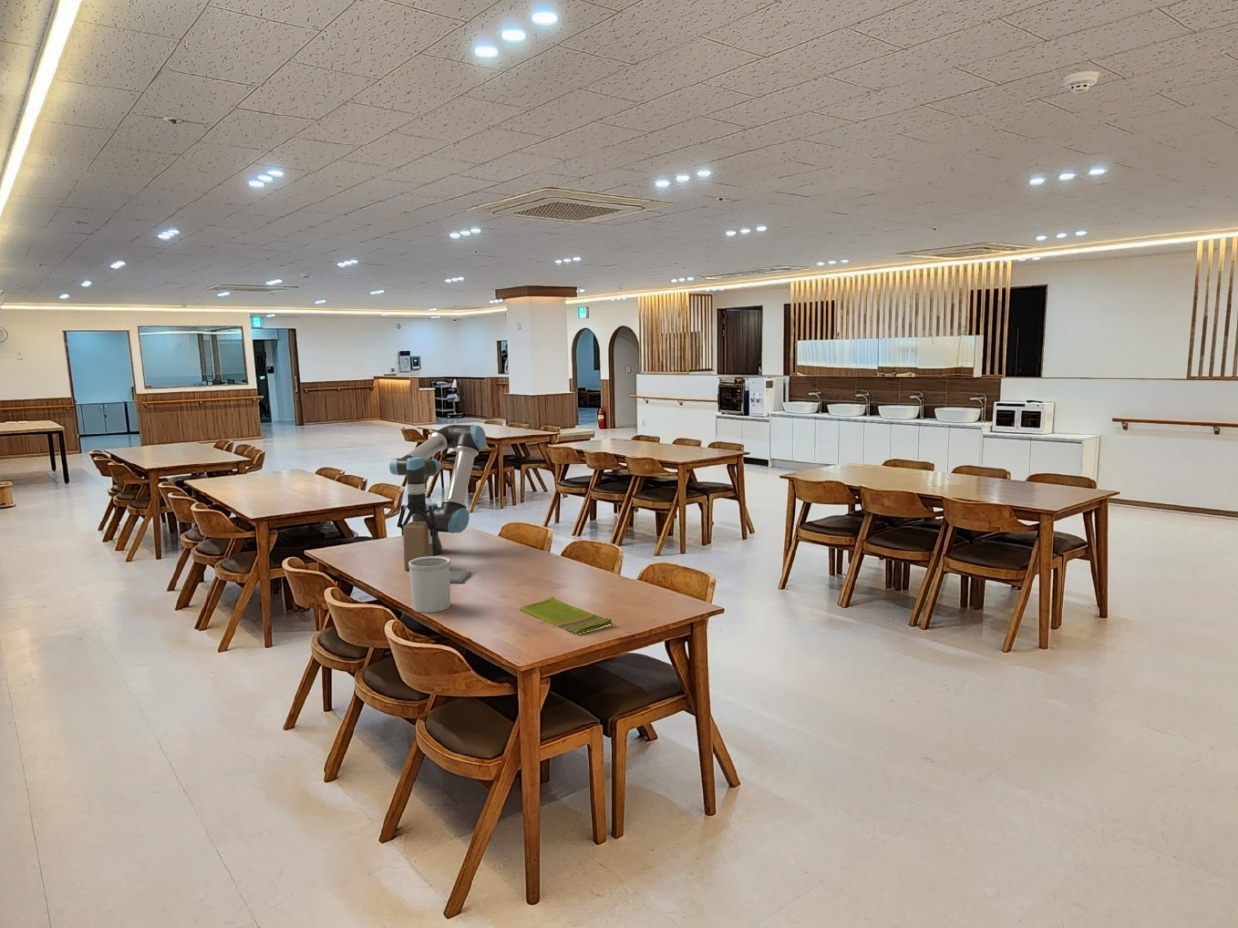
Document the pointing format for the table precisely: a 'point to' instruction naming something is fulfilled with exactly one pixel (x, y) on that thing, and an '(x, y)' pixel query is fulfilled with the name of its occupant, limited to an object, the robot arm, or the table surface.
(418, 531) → the wooden block
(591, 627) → the dish towel
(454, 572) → the plate
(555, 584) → the table surface
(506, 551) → the table surface
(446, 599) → the utensil holder
